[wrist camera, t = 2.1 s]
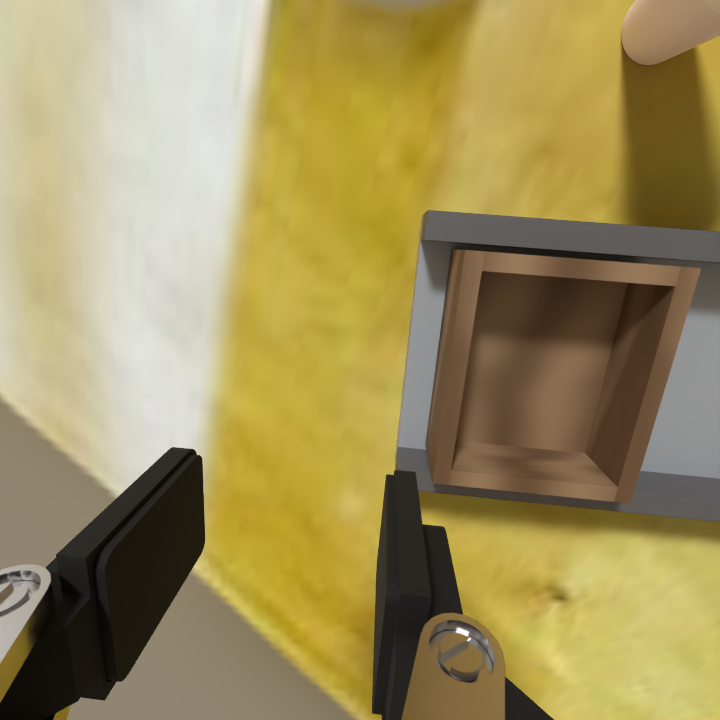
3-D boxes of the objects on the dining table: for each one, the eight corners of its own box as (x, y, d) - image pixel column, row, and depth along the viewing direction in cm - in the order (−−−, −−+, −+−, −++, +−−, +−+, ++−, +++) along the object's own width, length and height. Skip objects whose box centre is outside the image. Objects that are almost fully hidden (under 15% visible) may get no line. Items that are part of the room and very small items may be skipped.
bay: (867, 248, 25) (979, 249, 21) (767, 496, 30) (838, 543, 26) (422, 215, 27) (430, 208, 22) (395, 459, 32) (396, 497, 27)
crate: (642, 264, 26) (700, 268, 21) (590, 461, 29) (630, 503, 25) (451, 249, 26) (465, 249, 21) (425, 445, 30) (432, 483, 25)
